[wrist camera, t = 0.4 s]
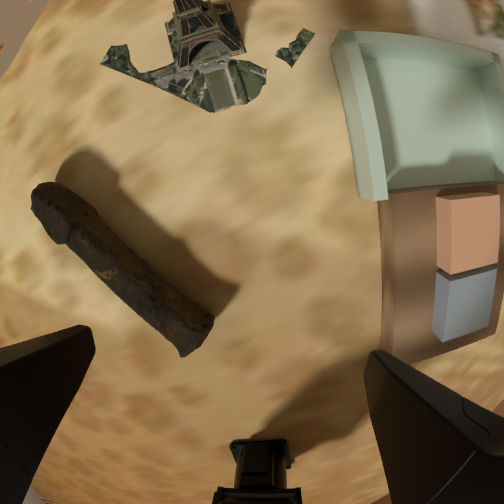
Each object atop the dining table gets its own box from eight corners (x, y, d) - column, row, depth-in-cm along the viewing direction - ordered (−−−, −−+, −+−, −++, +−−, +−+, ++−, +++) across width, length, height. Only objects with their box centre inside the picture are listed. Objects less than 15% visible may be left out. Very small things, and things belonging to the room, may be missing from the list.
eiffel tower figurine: (100, 67, 19) (-10, 20, 6) (162, -20, 16) (101, -105, 3) (249, 135, 20) (219, 80, 7) (316, 34, 17) (357, -79, 4)
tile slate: (475, 315, 19) (487, 326, 17) (431, 329, 19) (442, 342, 18) (482, 260, 18) (497, 268, 16) (436, 272, 18) (449, 281, 16)
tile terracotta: (483, 254, 18) (497, 262, 16) (436, 265, 18) (450, 274, 16) (483, 191, 16) (499, 195, 14) (435, 196, 17) (450, 200, 15)
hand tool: (222, 313, 24) (212, 343, 19) (192, 339, 24) (178, 371, 20) (70, 158, 21) (36, 158, 16) (50, 192, 22) (16, 198, 17)
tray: (498, 182, 19) (522, 186, 15) (358, 196, 20) (374, 201, 17) (476, 62, 16) (497, 54, 12) (329, 49, 17) (339, 30, 14)
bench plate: (479, 319, 22) (495, 333, 19) (380, 349, 23) (390, 368, 21) (488, 180, 19) (509, 183, 16) (376, 190, 20) (391, 194, 17)
